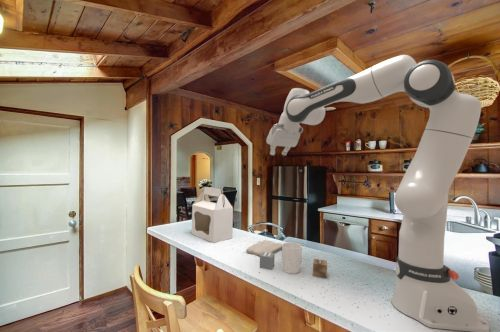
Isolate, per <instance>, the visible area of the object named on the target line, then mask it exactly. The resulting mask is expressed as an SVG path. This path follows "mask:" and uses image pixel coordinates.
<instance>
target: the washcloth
mask: <svg viewBox="0 0 500 332" xmlns="http://www.w3.org/2000/svg"><path fill="white" fill-rule="evenodd" d="M282 244H283V243H279V242H274V241H271V240H267V239H265V240H263V241H262V240H261V241H258V242H256V243H254V244H252V245H250V246H248V247H247V248H246V250H245V252H246V253H247V254H250V255H255V256H257V257H260V255H261V254H262V253H263V252H268V253H275V254H276V253H279V252H280V251H282Z"/></svg>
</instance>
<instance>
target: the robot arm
mask: <svg viewBox="0 0 500 332" xmlns="http://www.w3.org/2000/svg"><path fill="white" fill-rule="evenodd" d="M456 89H457V88H456V83H455V76H454V74H453V73H452V71H451V69H450V67H449V66H448V65H447V64H446V63H445V62H442V61H439V60H436V59H427V60H423V61H420V62H418V63H417V62H416V60H415V59H414V58H413V56H411V55H408V54H400V55H397V56H392V57H391V58H388V59H386V60H383V61H380V62H378V63H377V64H374V65H373V66H369V68H366V69H364V70H362V71H360V72H358V73H356V74H353V75H351V76H348V77H346V78H343V79H341V80H338V81H335V82H332V83H330V84H328V85H325V86H323V87H321V88H319V89H316V90H314V91H311V92H310V91H309V90H308V89H305V88H301V87H295V88H291V90H290V91H289V93H288V95H287V97H286V100H285V103H284V106H283V112H282V113H281V115H280V117H279V120H278V123H276V124H273V126H272V127H271V129H270V130H269V133H268V135H267V137H266V140H265V141H266V144H268V145H269V146H270V147H269V148H270V151H269V155H271V156H275V154H276V148H277V147H284V149H283V150H282V151H281V155H282V156H287V154H288V152H289V151H290V150H291V148H295V147H296V146H297V145H298V142H299V140H300V137H301V134H302V133H303V132H304V127H302V126H301V125H300V124H305V125H309V126H316V125H317V126H318V125H319V124H321V123H322V122H323V121H324V119H325V117H326V114H327V113H326V106H329V105H331V104H334V103H340V102H349V103H354V104H355V103H356V104H363V105H364V104H367V103H373V102H375V101H378V100H381V99H383V98H386V97H388V96H390V95H393V94H396V93H400V92H401V93H402V92H404V93H405V94H406V95H407V96H408V97H409V99H410V100H411V101H412V102H413V103H414V104H416V105H417V106H419V108H422V109H426V110H429V116H428V117H429V118H428V121H427V123H426V126H425V128H424V131H423V134H422V135H421V137H420V138H421V139H420V141H419V143H418V146H417V149H416V151H415V154H414V156H413V158H412V160H411V161H410V163H409V165H408V167H407V170H406V171H405V172H404V174H403V177H402V179H401V181H400V183H399V185H398V188H396V191H395V194H394V205H395V206H396V208H397V210H399V212H400V213H401V214H403V215H402V219H401V220H402V221H401V225H400V228H399V231H398V255H397V257H396V263H395V268H396V269H395V273H396V280H395V281H396V282H395V285H394V286H395V287H394V290H393V294H392V297H391V299H390V301H391V304H392V306H393V307H395V309H396V310H398V311H400V313H402V314H404V315H406V316H408V317H410V318H413V319H415V320H417V321H418V322H420V323H421V324H422V325H425V326H426V327H428V328H432V329H443V330H451V331H463V332H464V331H465V332H490V324H489V323H488V321H487V320H486V319H485V317H484V316H483V315H481V313H479V311H478V308H477V305H476V302H475V301H474V298H472V297H471V295H470V294H469V293H467V291H466V290H464V289H463V288H462V287H461V286H459V285H458V284H457V283H456V282H455V281H458V279H460V275H459V274H458V273H457V272H456V271H455V270H453V269H451V268H450V267H449V266H447V265H445V264H444V258H445V257H444V252H445V250H444V249H445V234H446V227H447V217H448V216H447V215H448V204H449V190H450V189H451V186H452V185H453V183H454V181H455V179H456V176H457V174H458V172H459V171H460V169H461V167H462V164H463V162H464V159H465V158H466V155H467V153H468V150H469V148H470V146H471V143H472V141H473V139H474V137H475V134H476V132H477V128H478V126H479V122H480V117H481V114H482V113H481V111H482V103H481V100H480V99H479V98H478V97H476V96H474V95H471V94H469V93H463V92H458V91H457V90H456Z"/></svg>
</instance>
